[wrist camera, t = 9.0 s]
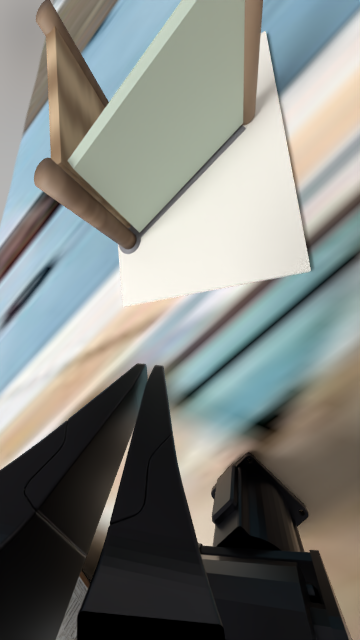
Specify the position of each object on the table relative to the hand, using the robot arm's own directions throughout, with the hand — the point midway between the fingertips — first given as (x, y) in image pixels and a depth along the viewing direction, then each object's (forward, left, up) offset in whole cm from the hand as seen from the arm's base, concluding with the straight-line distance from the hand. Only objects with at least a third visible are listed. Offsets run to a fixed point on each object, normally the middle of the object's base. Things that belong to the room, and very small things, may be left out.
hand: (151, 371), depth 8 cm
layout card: (+14, -15, -12) cm, 24 cm away
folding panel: (+14, -16, -12) cm, 24 cm away
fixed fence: (+23, -11, -12) cm, 28 cm away
